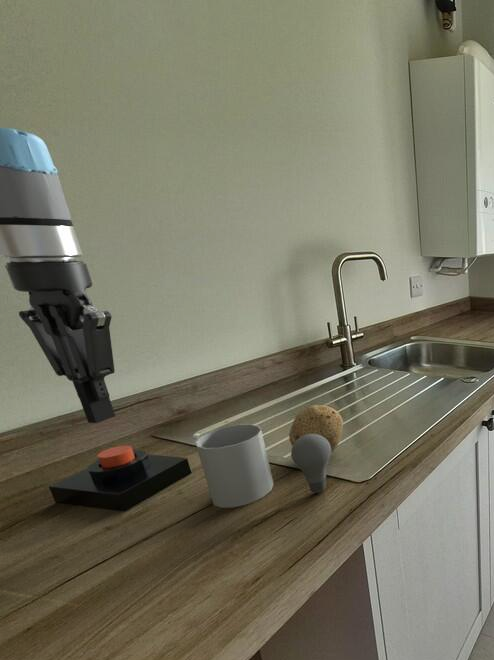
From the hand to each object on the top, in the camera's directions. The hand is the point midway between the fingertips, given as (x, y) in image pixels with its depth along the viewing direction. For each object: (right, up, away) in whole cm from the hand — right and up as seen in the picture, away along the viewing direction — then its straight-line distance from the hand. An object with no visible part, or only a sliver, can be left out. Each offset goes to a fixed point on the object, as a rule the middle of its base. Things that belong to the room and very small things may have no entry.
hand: (102, 419), depth 63 cm
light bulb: (+33, -12, +2) cm, 35 cm away
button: (0, -7, +2) cm, 8 cm away
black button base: (0, -12, +4) cm, 12 cm away
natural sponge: (+28, -8, +14) cm, 32 cm away
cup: (+20, -12, +2) cm, 24 cm away
